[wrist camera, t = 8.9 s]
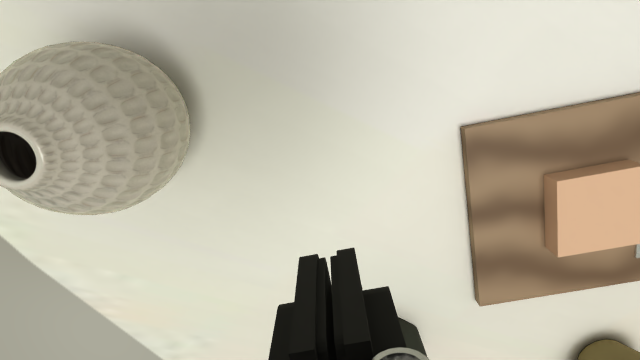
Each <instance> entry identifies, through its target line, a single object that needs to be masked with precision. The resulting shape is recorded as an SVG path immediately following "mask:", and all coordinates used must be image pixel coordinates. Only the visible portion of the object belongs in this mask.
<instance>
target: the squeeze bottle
mask: <svg viewBox="0 0 640 360" xmlns="http://www.w3.org/2000/svg"><path fill="white" fill-rule="evenodd" d="M578 360H640V352H638V351H636V350H634V349H632V348H630V347H628V346H626V345H623V344H621V343H619V342H617V341H615V340H607V339H604V340H600V341H596V342H594V343H592V344H590V345H588V346H587V347H585V348H584V350H583V351H582V352H581V353H580V354H579V357H578Z"/></svg>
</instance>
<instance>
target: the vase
mask: <svg viewBox="0 0 640 360" xmlns="http://www.w3.org/2000/svg"><path fill="white" fill-rule="evenodd" d="M189 141H190V118H189V114H188V110H187V107H186V104H185V102H184V99H183V97H182V95H181V93H180V92H179V90H178V88H177V87H176V85H175V84H174V83H173V82H172V80H171V79H170V78H169V77H168V76H167V75H166V74H165V73H164V72H163V71H162V70H161V69H160V68H158V67H157V66H156V65H154V64H153V63H151V62H150V61H149V60H147V59H146V58H144V57H142V56H140V55H138V54H136V53H134V52H132V51H129V50H127V49H124V48H121V47H117V46H113V45H109V44H103V43H98V42H68V43H62V44H55V45H49V46H45V47H43V48H40V49H37V50H34V51H32V52H30V53H28V54H26V55H24V56H23V57H21V58H19V59H17V60H16V61H14V62H13V63H12V64H11V65H9V66H8V67H7V68H6V69H5V70H4V71H2V72H1V73H0V186H2V187H4V188H6V189H7V190H9V191H10V192H11V193H12V194H14V195H15V196H17V197H19V198H20V199H22V200H24V201H26V202H28V203H31V204H33V205H35V206H38V207H40V208H43V209H46V210H50V211H54V212H59V213H66V214H72V215H98V214H105V213H112V212H117V211H120V210H124V209H127V208H129V207H132V206H134V205H136V204H138V203H140V202H142V201H144V200H146V199H148V198H149V197H151V196H152V195H153V194H155V193H156V192H157V191H159V190H160V189H162V188H163V187H164V186H165V185H166V184H167V183H168V182H169V181H170V180H171V179H172V177H173V176H174V175H175V174H176V172H177V171H178V169H179V168H180V166H181V165H182V163H183V160H184V158H185V156H186V153H187V149H188V145H189Z"/></svg>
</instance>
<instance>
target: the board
mask: <svg viewBox="0 0 640 360" xmlns="http://www.w3.org/2000/svg"><path fill="white" fill-rule="evenodd" d="M461 139H462V150H463V162H464V173H465V184H466V196H467V207H468V219H469V230H470V241H471V253H472V264H473V276H474V287H475V298H476V301H477V303H478V304H479V306H486V305H492V304H498V303H504V302H511V301H517V300H523V299H529V298H535V297H541V296H548V295H554V294H560V293H566V292H572V291H578V290H584V289H591V288H597V287H603V286H609V285H615V284H621V283H628V282H634V281H640V258H635V257H634V253H635V245H630V246H624V247H618V248H612V249H606V250H600V251H594V252H588V253H582V254H576V255H570V256H564V257H557V256H555V255H554V254H553V253H552V252H551V251H549V250H548V249H547V248H546V247H545V209H544V175H545V174H551V173H556V172H562V171H567V170H573V169H578V168H584V167H589V166H595V165H600V164H606V163H611V162H617V161H622V160H631V161H635V162H638V163H640V92H639V93H634V94H629V95H623V96H618V97H613V98H608V99H603V100H597V101H592V102H587V103H582V104H577V105H571V106H566V107H561V108H556V109H551V110H545V111H540V112H535V113H530V114H524V115H519V116H514V117H509V118H504V119H498V120H493V121H488V122H483V123H478V124H472V125H467V126H462V127H461Z"/></svg>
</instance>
